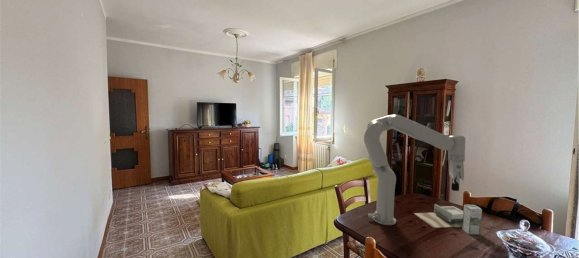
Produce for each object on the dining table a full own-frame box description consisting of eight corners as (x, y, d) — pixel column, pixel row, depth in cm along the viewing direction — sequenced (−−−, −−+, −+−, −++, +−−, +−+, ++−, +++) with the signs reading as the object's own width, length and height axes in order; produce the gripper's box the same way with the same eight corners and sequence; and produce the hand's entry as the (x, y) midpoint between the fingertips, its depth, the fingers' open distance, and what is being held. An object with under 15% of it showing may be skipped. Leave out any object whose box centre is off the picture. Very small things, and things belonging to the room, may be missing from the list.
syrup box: (472, 229, 131) (474, 204, 130) (480, 235, 125) (482, 208, 124) (461, 229, 132) (463, 203, 131) (468, 234, 126) (470, 208, 125)
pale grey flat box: (449, 224, 136) (450, 213, 136) (433, 213, 150) (434, 203, 149) (471, 223, 137) (471, 212, 137) (452, 213, 151) (453, 203, 150)
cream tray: (433, 228, 133) (433, 227, 133) (414, 213, 151) (414, 213, 151) (476, 226, 135) (476, 225, 135) (452, 212, 153) (452, 211, 153)
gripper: (469, 161, 123) (467, 195, 124) (460, 155, 137) (459, 186, 138) (451, 160, 125) (450, 194, 127) (444, 155, 139) (444, 185, 141)
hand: (455, 190), depth 133 cm, fingers closed
